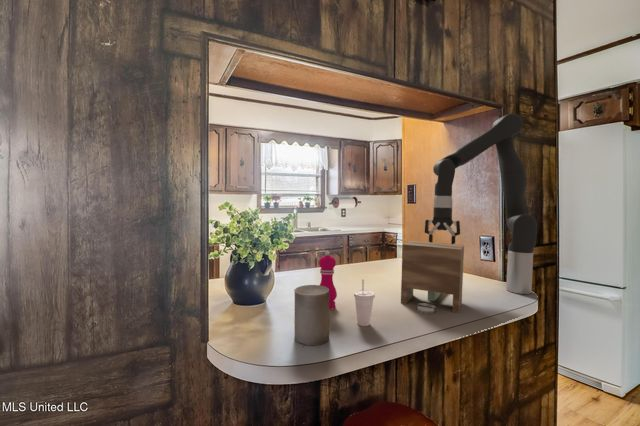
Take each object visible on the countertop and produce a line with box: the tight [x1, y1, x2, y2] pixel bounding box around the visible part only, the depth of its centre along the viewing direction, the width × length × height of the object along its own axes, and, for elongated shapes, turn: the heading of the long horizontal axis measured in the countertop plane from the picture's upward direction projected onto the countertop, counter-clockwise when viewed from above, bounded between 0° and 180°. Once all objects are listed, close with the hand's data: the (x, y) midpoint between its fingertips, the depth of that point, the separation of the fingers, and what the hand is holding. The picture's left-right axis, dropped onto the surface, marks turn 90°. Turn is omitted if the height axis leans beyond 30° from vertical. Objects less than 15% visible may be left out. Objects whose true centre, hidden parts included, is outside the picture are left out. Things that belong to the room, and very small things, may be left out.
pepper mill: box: [318, 250, 338, 310], centre depth 116 cm, size 7×7×20 cm
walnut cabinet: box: [400, 240, 465, 313], centre depth 122 cm, size 12×20×22 cm, turn 62°
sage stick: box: [427, 291, 442, 302], centre depth 136 cm, size 23×2×4 cm, turn 148°
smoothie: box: [353, 278, 376, 327], centre depth 101 cm, size 6×6×14 cm
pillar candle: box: [293, 284, 330, 346], centre depth 90 cm, size 10×10×15 cm
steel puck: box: [416, 302, 436, 315], centre depth 114 cm, size 6×6×2 cm
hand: (441, 244), depth 141 cm, fingers open, 8 cm apart
